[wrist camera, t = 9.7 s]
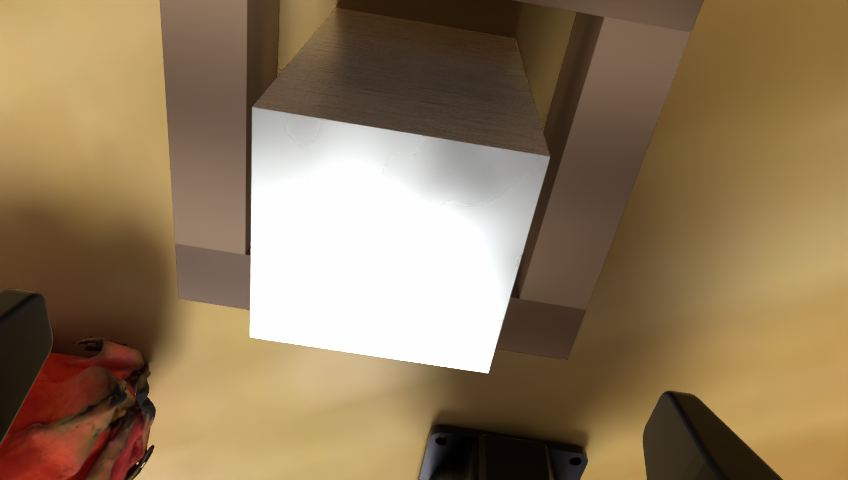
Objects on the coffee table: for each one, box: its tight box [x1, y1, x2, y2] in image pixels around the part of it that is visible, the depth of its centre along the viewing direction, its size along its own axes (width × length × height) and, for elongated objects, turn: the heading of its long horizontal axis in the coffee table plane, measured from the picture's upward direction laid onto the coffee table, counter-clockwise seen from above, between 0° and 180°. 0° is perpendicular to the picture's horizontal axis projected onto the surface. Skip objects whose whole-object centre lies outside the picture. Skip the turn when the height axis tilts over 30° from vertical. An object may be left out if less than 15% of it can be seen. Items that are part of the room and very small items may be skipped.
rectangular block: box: [250, 7, 550, 373], centre depth 15 cm, size 5×5×8 cm
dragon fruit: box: [0, 336, 156, 480], centre depth 22 cm, size 8×8×12 cm
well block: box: [160, 0, 704, 360], centre depth 17 cm, size 12×12×3 cm
